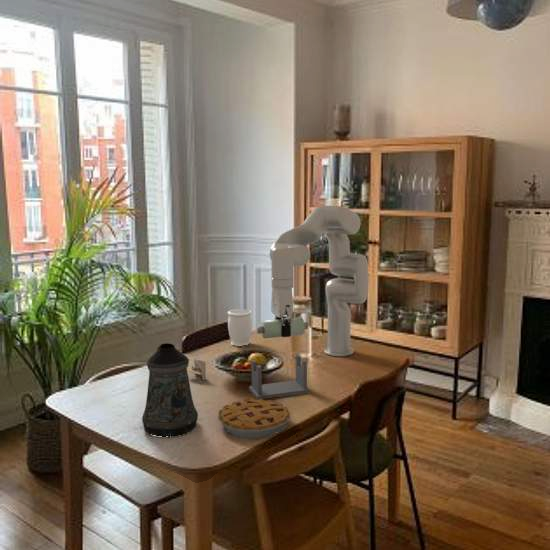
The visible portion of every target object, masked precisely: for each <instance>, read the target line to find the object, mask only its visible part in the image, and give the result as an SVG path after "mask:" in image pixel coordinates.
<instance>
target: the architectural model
mask: <svg viewBox="0 0 550 550" xmlns="http://www.w3.org/2000/svg"><path fill="white" fill-rule="evenodd" d="M193 363H194V365H191V367H190V368H187V373H188V372H189V373H192V374H194V377H195V376H197V377H196V378H197V379H198V380H199V379H200V378H202V379H200V380H204V381H206V380H207V374H206V373H207V372H206V370H207V369H206V361H205V360H202V359H198V358H194V360H193ZM205 379H206V380H205Z"/></svg>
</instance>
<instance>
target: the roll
mask: <svg viewBox="0 0 550 550" xmlns="http://www.w3.org/2000/svg"><path fill="white" fill-rule="evenodd" d="M286 319H287V318H285V319H284V321H285V320H286ZM281 326H283V325H282V319H278V320H275V319H268V320H262V321H261V323H260V326H257V327H256V331H257V334H258V335H260V334H261V336H262V338H263V339H270V338H281V337H282V336H281ZM308 329H309V323H308V321H304V319H303V317H302V316H301V317H292V320H291V336H292V337H293V336H302V335H304V334H305V331H306V330H308ZM291 336H290V337H291ZM282 338H283V337H282Z"/></svg>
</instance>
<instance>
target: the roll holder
mask: <svg viewBox="0 0 550 550" xmlns="http://www.w3.org/2000/svg"><path fill="white" fill-rule="evenodd" d="M301 359H302V357H301V355H299V354H295V380H288V381H280V382H273V383H272V382H271V383H265V384H262V383H263V382H262V381H263V378H262V376H263V374H262V371H263V370H262V366H261V365H257V361H256V359H251V360H250V361H251V385H249V388H248V389H249V391H250V393H251V394H252V395H253V397H255V398H256V399H263V400H266V399H265V398H267V399H274V398H280V397H279V396H282V397H287V396H288V395H289V396H295V395H302V394H301V393H303V394H309V393H308V392H310V393H311V389H310V388H309V387H308V361H307V360H306V359H302V360H301ZM289 396H288V397H289ZM273 397H274V398H273ZM256 399H255V400H256Z"/></svg>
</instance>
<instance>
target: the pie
mask: <svg viewBox="0 0 550 550" xmlns="http://www.w3.org/2000/svg"><path fill="white" fill-rule="evenodd" d="M217 420H218V421H219V423H220V424H221V425H222V426H224V427H223V428H224V429H225V430H226V432H227V431H228V432H227V433H229V432H230V433H229V434H231V433H232V434H231V435H233V434H234V435H236V436H235V437H237V436H240V437H239V438H242V437H244V438H243V439H260V438H259V437H261V438H264V436H266V437H270V436H269V435H271V436H273V435H275V434H274V433H276V432H278V433H280V432H281V431H282V429H283V428H284V427H285V426H286V427H287V424H288V421H290V420H291V412H290V411H289V409H288V407H287V406H284V404H282V403H281V402H279V403H276V402H275V401H274V400H271V399H250V398H246V399H244V400H242V401H234V402H232V403H231V404H226V405H224V406H223V407H222V409H219V411H218V414H217ZM286 427H285V428H286ZM285 428H284V429H285ZM279 431H280V432H279ZM272 434H273V435H272ZM276 434H277V433H276ZM234 435H233V436H234Z"/></svg>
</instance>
